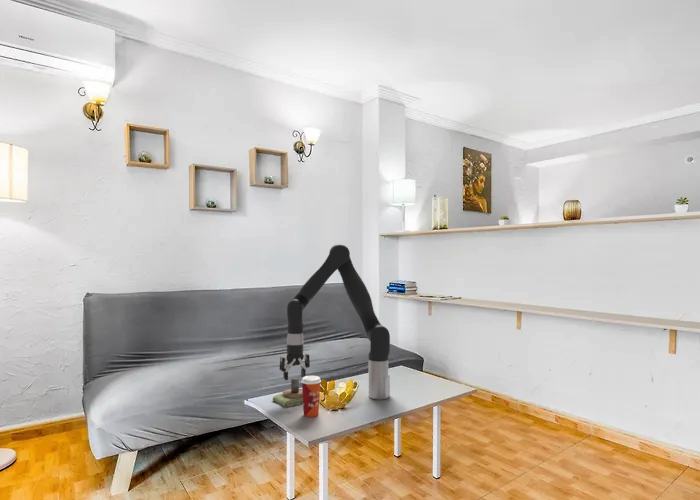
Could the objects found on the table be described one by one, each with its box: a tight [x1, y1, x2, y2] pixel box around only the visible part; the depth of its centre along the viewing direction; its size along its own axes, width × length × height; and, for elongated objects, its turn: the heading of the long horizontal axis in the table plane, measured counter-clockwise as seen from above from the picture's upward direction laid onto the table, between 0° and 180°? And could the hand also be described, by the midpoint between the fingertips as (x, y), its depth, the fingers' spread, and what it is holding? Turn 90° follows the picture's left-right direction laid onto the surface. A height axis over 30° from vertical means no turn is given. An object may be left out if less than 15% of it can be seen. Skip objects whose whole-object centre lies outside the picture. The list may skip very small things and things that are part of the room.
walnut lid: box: [282, 377, 303, 398], centre depth 190 cm, size 11×11×7 cm
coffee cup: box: [300, 375, 322, 418], centre depth 172 cm, size 8×8×15 cm
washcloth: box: [272, 393, 303, 408], centre depth 190 cm, size 13×18×3 cm
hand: (294, 378), depth 190 cm, fingers open, 8 cm apart
